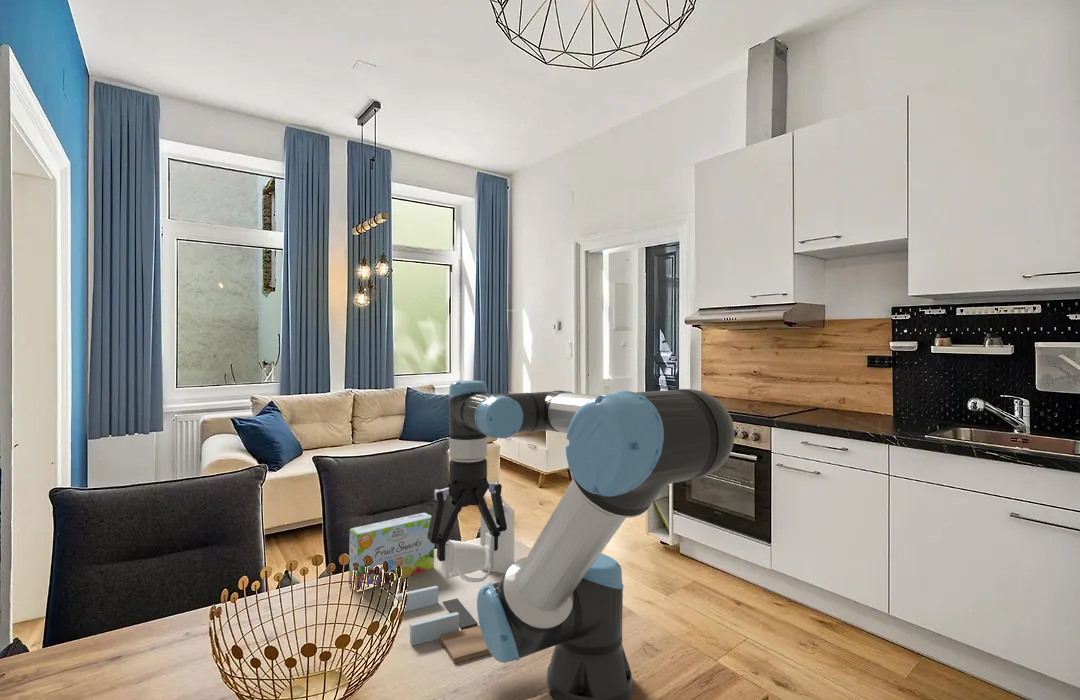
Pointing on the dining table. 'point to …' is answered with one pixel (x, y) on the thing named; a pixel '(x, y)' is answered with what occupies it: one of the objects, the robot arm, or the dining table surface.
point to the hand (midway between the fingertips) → (468, 571)
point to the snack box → (391, 548)
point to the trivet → (464, 644)
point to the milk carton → (501, 540)
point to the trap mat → (460, 613)
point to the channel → (432, 626)
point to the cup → (468, 559)
